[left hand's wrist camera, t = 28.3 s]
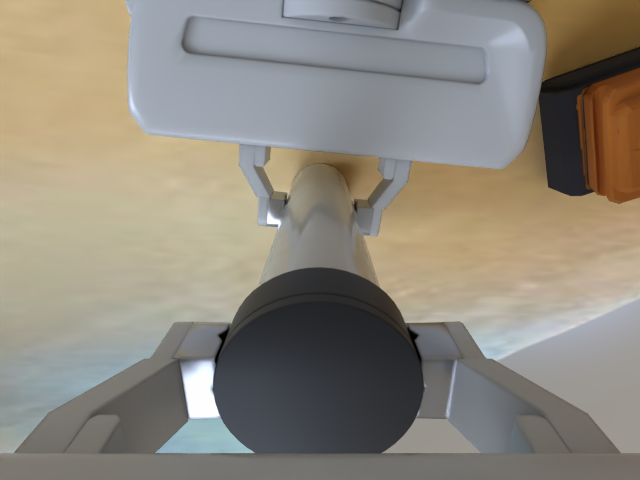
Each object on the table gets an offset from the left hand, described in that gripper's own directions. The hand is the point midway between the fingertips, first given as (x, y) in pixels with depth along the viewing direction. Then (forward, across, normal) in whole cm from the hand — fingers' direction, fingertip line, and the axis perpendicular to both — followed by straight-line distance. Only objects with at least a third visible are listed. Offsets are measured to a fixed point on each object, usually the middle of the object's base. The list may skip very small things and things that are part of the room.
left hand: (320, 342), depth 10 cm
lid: (-2, 0, 0) cm, 2 cm away
